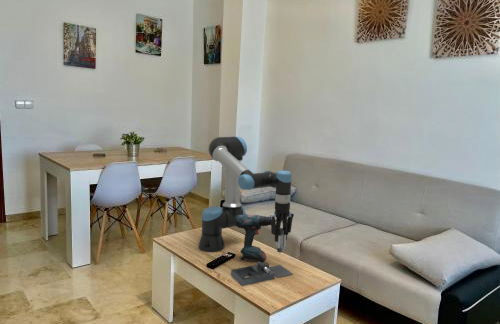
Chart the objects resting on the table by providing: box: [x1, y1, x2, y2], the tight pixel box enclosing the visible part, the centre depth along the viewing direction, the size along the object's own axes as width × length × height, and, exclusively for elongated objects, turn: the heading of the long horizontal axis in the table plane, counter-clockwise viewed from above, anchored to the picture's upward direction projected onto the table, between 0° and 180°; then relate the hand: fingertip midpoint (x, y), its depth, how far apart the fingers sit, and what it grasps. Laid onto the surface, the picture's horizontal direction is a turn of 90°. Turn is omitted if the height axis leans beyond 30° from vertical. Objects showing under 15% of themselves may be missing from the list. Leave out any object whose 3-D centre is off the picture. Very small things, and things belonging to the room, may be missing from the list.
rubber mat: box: [269, 264, 294, 279], centre depth 197 cm, size 12×9×1 cm
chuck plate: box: [230, 261, 276, 287], centre depth 189 cm, size 12×18×6 cm, turn 119°
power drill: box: [235, 214, 276, 263], centre depth 210 cm, size 9×23×25 cm, turn 78°
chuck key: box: [276, 227, 285, 254], centre depth 194 cm, size 4×6×12 cm, turn 0°
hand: (280, 246), depth 195 cm, fingers closed on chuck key, 3 cm apart
